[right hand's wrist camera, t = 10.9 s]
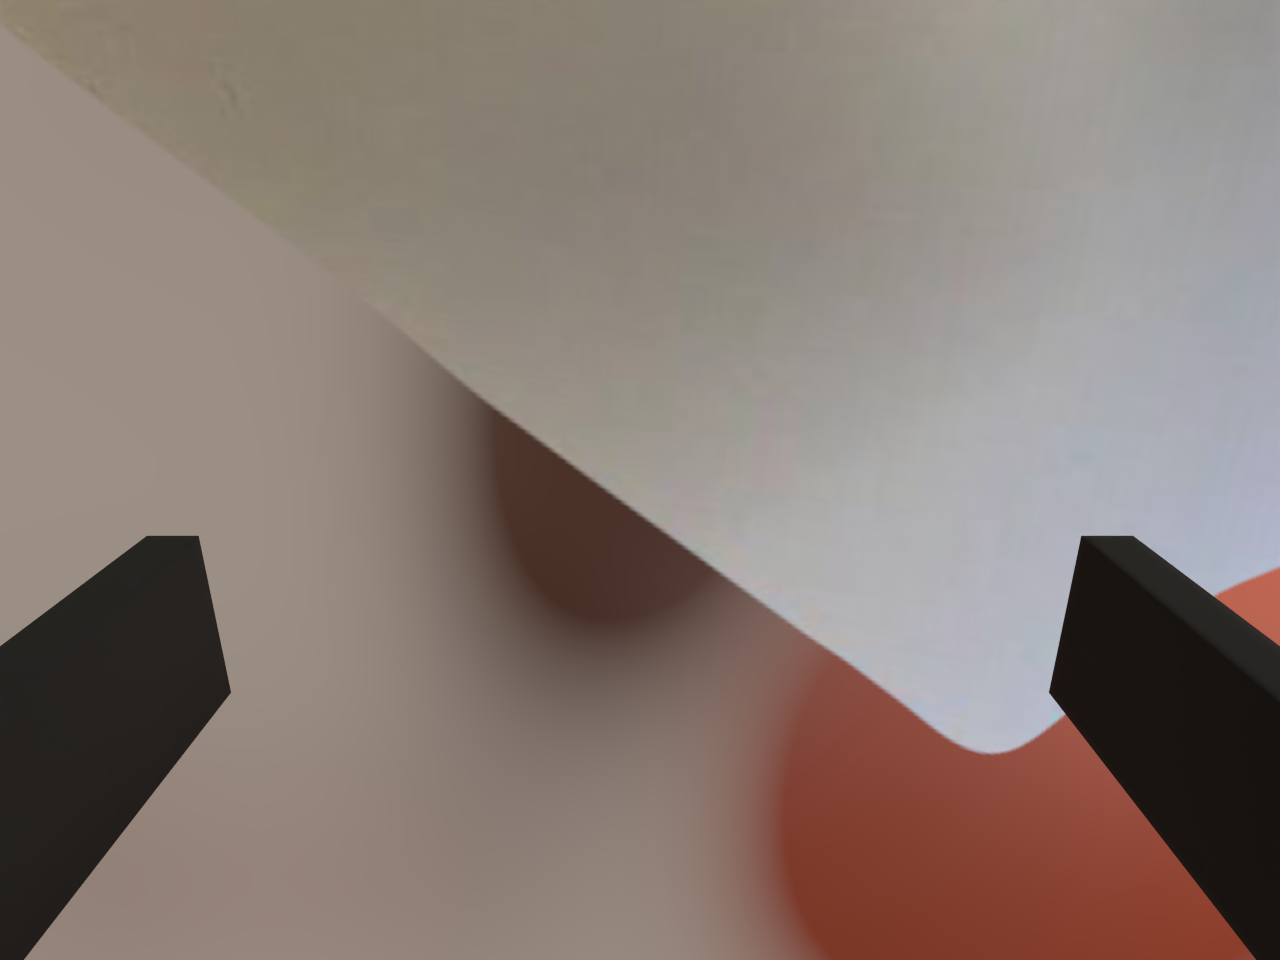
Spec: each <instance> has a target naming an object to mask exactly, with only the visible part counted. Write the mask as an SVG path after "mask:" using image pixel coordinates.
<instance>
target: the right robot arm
mask: <svg viewBox="0 0 1280 960" xmlns="http://www.w3.org/2000/svg"><path fill="white" fill-rule="evenodd" d="M230 693H231V690H230V686H229V681H228V676H227V671H226V666H225V661H224V657H223V652H222V647H221V642H220V637H219V633H218V628H217V623H216V618H215V613H214V609H213V604H212V599H211V594H210V589H209V584H208V579H207V575H206V570H205V565H204V560H203V555H202V550H201V546H200V541H199V536H146V537H145V538H144V539H142V540H141V541H140V542H138V543H137V544H136V545H134V546H133V547H132V548H130V549H129V550H128V551H126V552H125V553H124V554H122V555H121V556H120V557H118V558H117V559H116V560H114V561H113V562H112V563H110V564H109V565H108V566H106V567H105V568H104V569H102V570H101V571H100V572H98V573H97V574H96V575H94V576H93V577H92V578H90V579H89V580H88V581H86V582H85V583H84V584H82V585H81V586H80V587H79V588H77V589H76V590H74V591H73V592H72V593H70V594H69V595H68V596H67V597H65V598H64V599H63V600H61V601H60V602H59V603H57V604H56V605H55V606H53V607H52V608H51V609H49V610H48V611H47V612H45V613H44V614H43V615H41V616H40V617H39V618H37V619H36V620H35V621H33V622H32V623H31V624H29V625H28V626H27V627H25V628H24V629H23V630H21V631H20V632H19V633H17V634H16V635H15V636H13V637H12V638H11V639H9V640H8V641H7V642H5V643H4V644H3V645H1V646H0V960H24V959H25V957H26V956H27V955H28V954H29V952H30V951H31V950H32V948H33V947H34V946H35V945H36V943H37V942H38V941H39V939H40V938H41V937H42V936H43V934H44V933H45V932H46V930H47V929H48V928H49V926H50V925H51V924H52V923H53V921H54V920H55V919H56V917H57V916H58V915H59V914H60V912H61V911H62V910H63V908H64V907H65V906H66V905H67V903H68V902H69V901H70V899H71V898H72V897H73V895H74V894H75V893H76V892H77V890H78V889H79V888H80V887H81V885H82V884H83V883H84V881H85V880H86V879H87V877H88V876H89V875H90V874H91V872H92V871H93V870H94V868H95V867H96V866H97V865H98V863H99V862H100V861H101V859H102V858H103V857H104V856H105V854H106V853H107V852H108V850H109V849H110V848H111V846H112V845H113V844H114V843H115V841H116V840H117V839H118V837H119V836H120V835H121V834H122V832H123V831H124V830H125V828H126V827H127V826H128V825H129V823H130V822H131V821H132V819H133V818H134V817H135V816H136V814H137V813H138V812H139V810H140V809H141V808H142V807H143V805H144V804H145V803H146V801H147V800H148V799H149V798H150V796H151V795H152V794H153V792H154V791H155V790H156V788H157V787H158V786H159V785H160V783H161V782H162V781H163V779H164V778H165V777H166V776H167V774H168V773H169V772H170V770H171V769H172V768H173V766H174V765H175V764H176V763H177V761H178V760H179V759H180V758H181V756H182V755H183V754H184V752H185V751H186V750H187V748H188V747H189V746H190V745H191V743H192V742H193V741H194V739H195V738H196V737H197V736H198V734H199V733H200V732H201V730H202V729H203V728H204V727H205V725H206V724H207V723H208V721H209V720H210V719H211V718H212V716H213V715H214V714H215V712H216V711H217V710H218V708H219V707H220V706H221V705H222V703H223V702H224V701H225V699H226V698H227V697H228V696H229V694H230ZM1049 693H1050V694H1051V696H1052V697H1053V698H1054V699H1055V701H1056V702H1057V703H1058V705H1059V706H1060V707H1061V709H1062V710H1063V711H1064V712H1065V714H1066V715H1067V716H1068V717H1069V719H1070V720H1071V721H1072V723H1073V724H1074V725H1075V727H1076V728H1077V729H1078V730H1079V732H1080V733H1081V734H1082V736H1083V737H1084V738H1085V739H1086V741H1087V742H1088V743H1089V745H1090V746H1091V747H1092V749H1093V750H1094V751H1095V752H1096V754H1097V755H1098V756H1099V757H1100V759H1101V760H1102V761H1103V763H1104V764H1105V765H1106V767H1107V768H1108V769H1109V770H1110V772H1111V773H1112V774H1113V776H1114V777H1115V778H1116V779H1117V781H1118V782H1119V783H1120V785H1121V786H1122V787H1123V788H1124V790H1125V791H1126V792H1127V794H1128V795H1129V796H1130V798H1131V799H1132V800H1133V801H1134V803H1135V804H1136V805H1137V807H1138V808H1139V809H1140V810H1141V812H1142V813H1143V814H1144V815H1145V817H1146V818H1147V819H1148V821H1149V822H1150V823H1151V825H1152V826H1153V827H1154V828H1155V830H1156V831H1157V832H1158V834H1159V835H1160V836H1161V837H1162V839H1163V840H1164V841H1165V843H1166V844H1167V845H1168V846H1169V848H1170V849H1171V850H1172V852H1173V853H1174V854H1175V856H1176V857H1177V858H1178V859H1179V861H1180V862H1181V863H1182V865H1183V866H1184V867H1185V868H1186V870H1187V871H1188V872H1189V874H1190V875H1191V876H1192V877H1193V879H1194V880H1195V881H1196V883H1197V884H1198V885H1199V887H1200V888H1201V889H1202V890H1203V892H1204V893H1205V894H1206V896H1207V897H1208V898H1209V899H1210V901H1211V902H1212V903H1213V905H1214V906H1215V907H1216V908H1217V910H1218V911H1219V912H1220V914H1221V915H1222V916H1223V917H1224V919H1225V920H1226V921H1227V923H1228V924H1229V925H1230V926H1231V928H1232V929H1233V930H1234V932H1235V933H1236V934H1237V936H1238V937H1239V938H1240V939H1241V941H1242V942H1243V943H1244V945H1245V946H1246V947H1247V948H1248V950H1249V951H1250V952H1251V954H1252V955H1253V956H1254V957H1255V959H1256V960H1280V646H1279V645H1277V644H1276V643H1275V642H1273V641H1272V640H1271V639H1269V638H1268V637H1267V636H1265V635H1264V634H1263V633H1261V632H1260V631H1259V630H1257V629H1256V628H1255V627H1253V626H1252V625H1251V624H1249V623H1248V622H1247V621H1245V620H1244V619H1243V618H1241V617H1240V616H1239V615H1237V614H1236V613H1235V612H1233V611H1232V610H1231V609H1229V608H1228V607H1227V606H1225V605H1224V604H1223V603H1221V602H1220V601H1219V600H1217V599H1216V598H1215V597H1213V596H1212V595H1211V594H1210V593H1208V592H1207V591H1206V590H1204V589H1203V588H1202V587H1200V586H1199V585H1198V584H1196V583H1195V582H1194V581H1192V580H1191V579H1190V578H1188V577H1187V576H1186V575H1184V574H1183V573H1182V572H1180V571H1179V570H1178V569H1176V568H1175V567H1174V566H1172V565H1171V564H1170V563H1168V562H1167V561H1166V560H1164V559H1163V558H1162V557H1160V556H1159V555H1158V554H1156V553H1155V552H1154V551H1152V550H1151V549H1150V548H1148V547H1147V546H1146V545H1144V544H1143V543H1142V542H1140V541H1139V540H1138V539H1136V538H1135V537H1134V536H1081V541H1080V546H1079V550H1078V555H1077V560H1076V565H1075V570H1074V574H1073V579H1072V584H1071V589H1070V594H1069V599H1068V603H1067V608H1066V613H1065V618H1064V623H1063V628H1062V632H1061V637H1060V642H1059V647H1058V652H1057V657H1056V661H1055V666H1054V671H1053V676H1052V681H1051V686H1050V690H1049Z"/></svg>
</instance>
